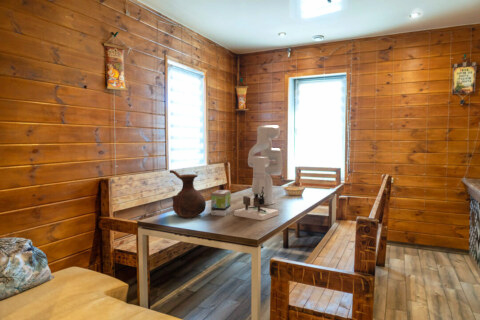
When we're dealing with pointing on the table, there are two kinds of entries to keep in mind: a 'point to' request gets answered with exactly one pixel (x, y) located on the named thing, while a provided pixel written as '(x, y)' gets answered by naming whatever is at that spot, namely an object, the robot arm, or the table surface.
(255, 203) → the near peg
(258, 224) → the table surface
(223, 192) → the tea box
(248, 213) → the board
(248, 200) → the far peg
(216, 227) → the table surface
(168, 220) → the table surface
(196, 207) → the jug
